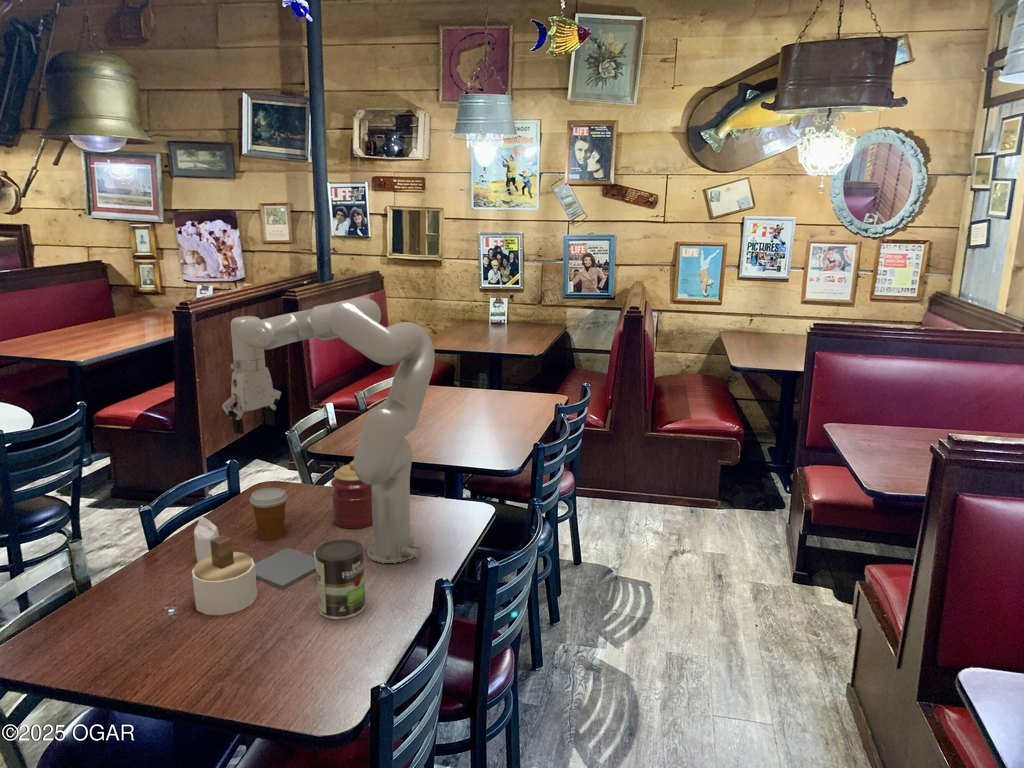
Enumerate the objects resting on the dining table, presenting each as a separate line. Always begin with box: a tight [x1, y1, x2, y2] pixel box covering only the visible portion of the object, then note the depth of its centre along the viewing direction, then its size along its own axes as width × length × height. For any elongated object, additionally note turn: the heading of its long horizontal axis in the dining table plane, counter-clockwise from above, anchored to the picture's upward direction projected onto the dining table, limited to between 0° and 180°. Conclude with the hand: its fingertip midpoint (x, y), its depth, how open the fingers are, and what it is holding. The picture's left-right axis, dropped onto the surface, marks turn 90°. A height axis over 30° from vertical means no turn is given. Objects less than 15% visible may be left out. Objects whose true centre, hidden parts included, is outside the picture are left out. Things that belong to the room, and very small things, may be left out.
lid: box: [193, 534, 253, 581], centre depth 164 cm, size 12×12×7 cm
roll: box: [193, 515, 220, 563], centre depth 184 cm, size 6×12×6 cm
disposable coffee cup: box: [249, 487, 288, 541], centre depth 198 cm, size 10×10×12 cm
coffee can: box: [314, 538, 366, 620], centre depth 163 cm, size 10×10×14 cm
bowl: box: [191, 557, 258, 616], centre depth 166 cm, size 13×13×8 cm
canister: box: [330, 460, 373, 529], centre depth 207 cm, size 13×13×18 cm
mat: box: [254, 547, 317, 590], centre depth 181 cm, size 14×14×1 cm
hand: (254, 428), depth 193 cm, fingers open, 9 cm apart
